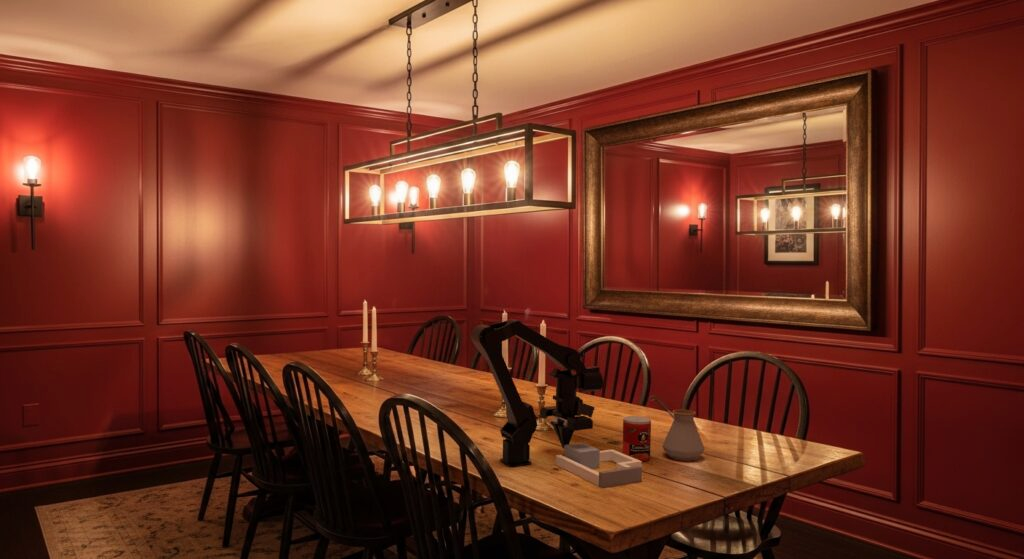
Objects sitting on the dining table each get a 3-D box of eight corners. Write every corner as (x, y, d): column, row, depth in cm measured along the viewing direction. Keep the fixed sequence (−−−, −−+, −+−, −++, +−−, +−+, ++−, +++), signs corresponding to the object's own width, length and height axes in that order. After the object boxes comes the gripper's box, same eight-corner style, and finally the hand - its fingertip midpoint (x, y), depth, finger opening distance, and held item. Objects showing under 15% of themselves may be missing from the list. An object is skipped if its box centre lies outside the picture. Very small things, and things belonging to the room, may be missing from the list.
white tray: (602, 487, 172) (602, 473, 172) (555, 464, 191) (555, 451, 191) (659, 478, 181) (659, 464, 181) (608, 456, 200) (609, 444, 200)
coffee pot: (712, 460, 198) (714, 406, 197) (678, 464, 193) (680, 409, 193) (666, 441, 217) (667, 392, 217) (634, 445, 213) (635, 395, 212)
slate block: (580, 471, 186) (580, 452, 186) (563, 463, 193) (564, 445, 193) (599, 468, 189) (599, 449, 189) (582, 460, 196) (582, 442, 196)
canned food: (630, 462, 194) (630, 422, 194) (617, 454, 202) (618, 416, 202) (655, 460, 196) (656, 421, 196) (642, 453, 204) (643, 415, 204)
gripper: (609, 396, 193) (608, 453, 194) (571, 385, 210) (571, 437, 210) (575, 399, 188) (574, 458, 189) (539, 387, 205) (538, 441, 205)
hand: (565, 448), depth 198 cm, fingers closed
